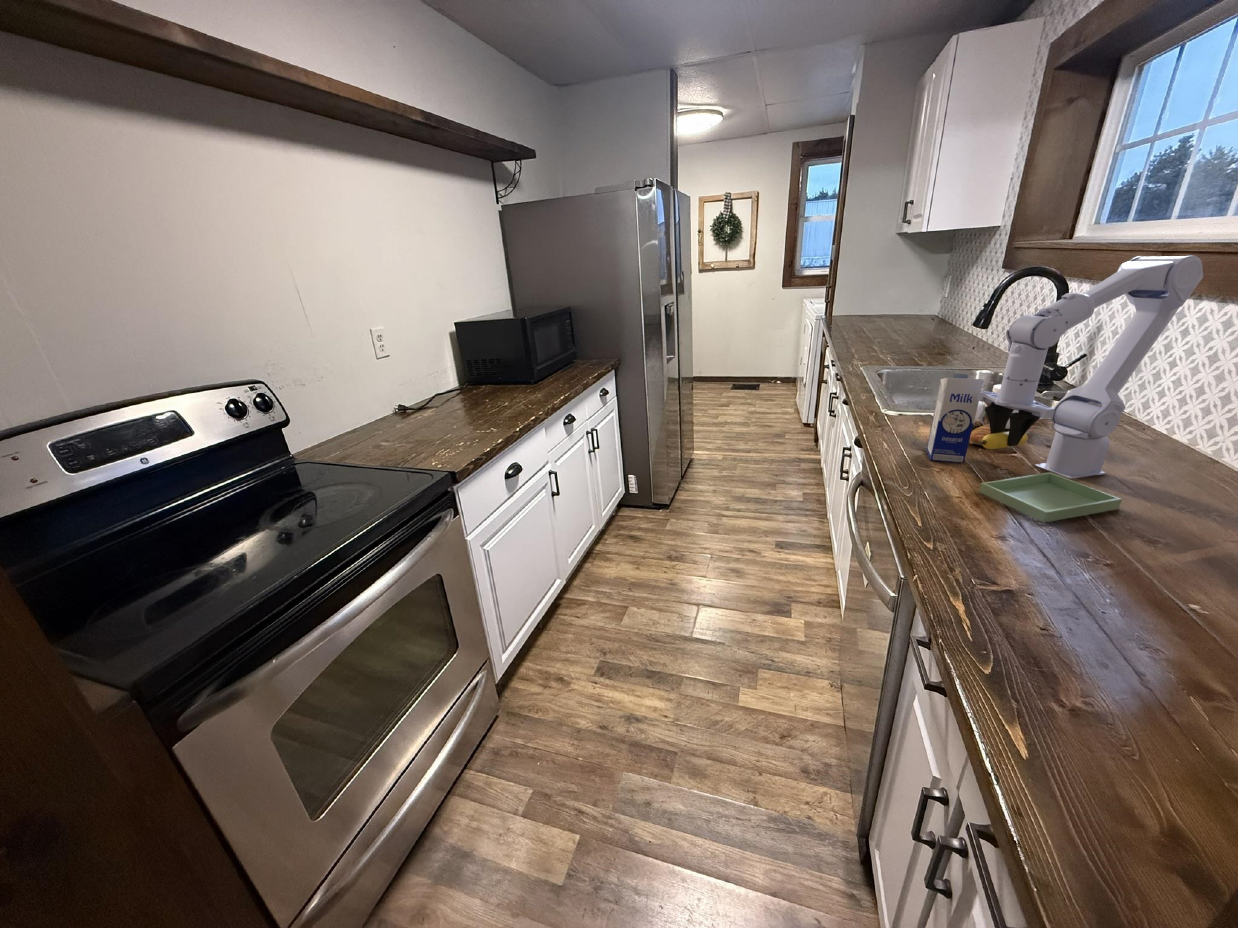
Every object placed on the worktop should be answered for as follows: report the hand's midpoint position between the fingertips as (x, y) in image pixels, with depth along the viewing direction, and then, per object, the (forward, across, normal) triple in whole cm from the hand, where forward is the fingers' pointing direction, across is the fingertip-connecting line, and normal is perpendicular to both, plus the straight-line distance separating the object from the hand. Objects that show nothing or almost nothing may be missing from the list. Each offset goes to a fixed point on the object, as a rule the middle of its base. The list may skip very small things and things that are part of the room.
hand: (1003, 442), depth 104 cm
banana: (+1, 0, 0) cm, 1 cm away
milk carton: (+9, -13, 0) cm, 16 cm away
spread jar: (+9, -26, +27) cm, 39 cm away
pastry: (+9, -18, +17) cm, 27 cm away
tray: (+8, +12, -1) cm, 14 cm away
